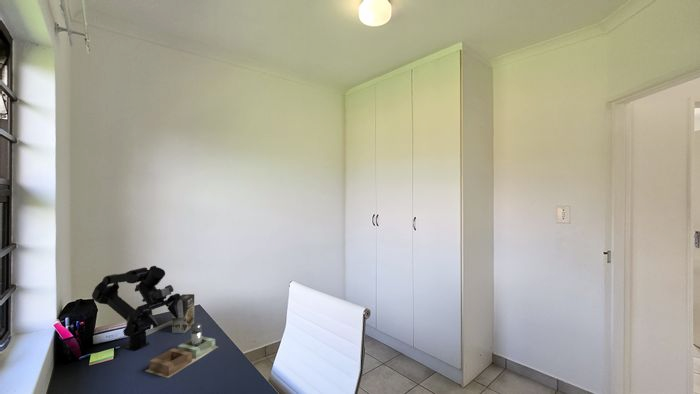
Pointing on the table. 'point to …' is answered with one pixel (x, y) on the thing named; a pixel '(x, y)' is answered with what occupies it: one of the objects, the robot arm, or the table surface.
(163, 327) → the long grey bar
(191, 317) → the coffee box
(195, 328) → the shiny grey rounded piece
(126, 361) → the table surface
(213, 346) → the wooden desk organizer
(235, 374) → the table surface
